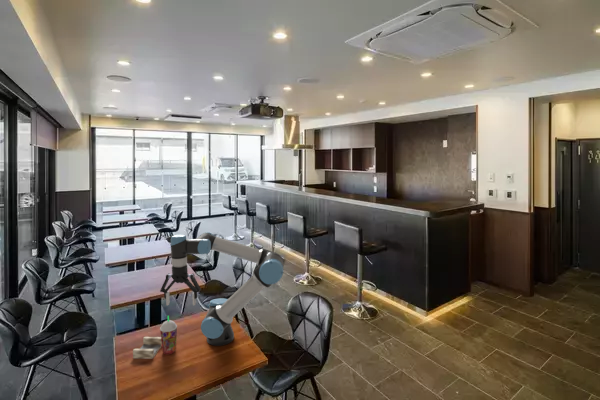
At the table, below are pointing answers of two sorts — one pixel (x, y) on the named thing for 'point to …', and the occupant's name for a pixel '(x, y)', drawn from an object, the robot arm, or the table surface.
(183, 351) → the table surface
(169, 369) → the table surface
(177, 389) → the table surface
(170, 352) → the smoothie
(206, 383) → the table surface
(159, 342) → the rest
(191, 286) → the robot arm
